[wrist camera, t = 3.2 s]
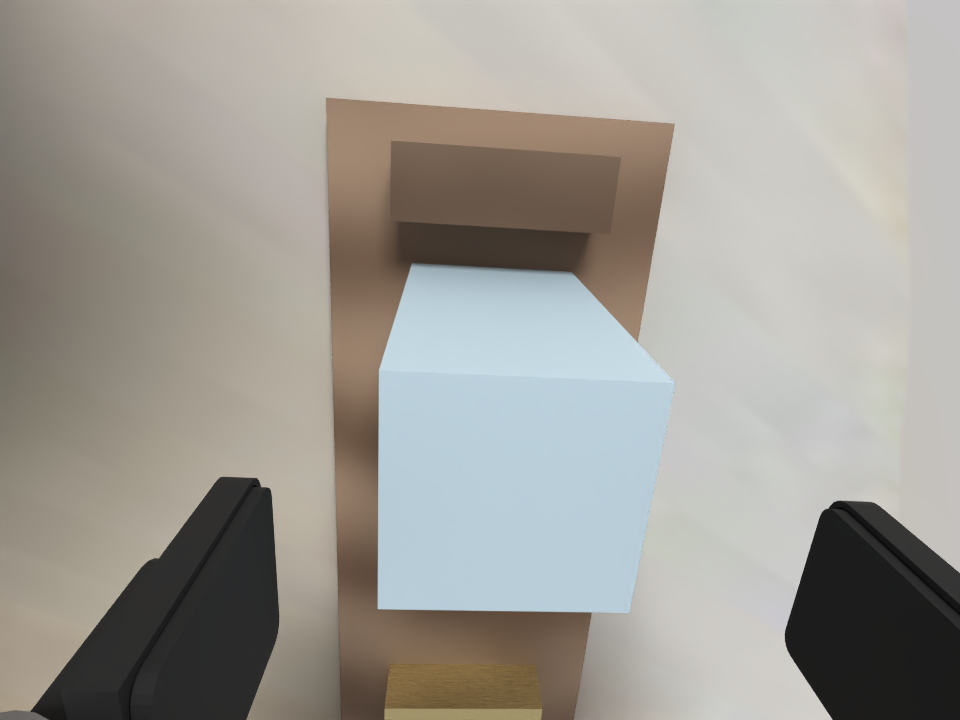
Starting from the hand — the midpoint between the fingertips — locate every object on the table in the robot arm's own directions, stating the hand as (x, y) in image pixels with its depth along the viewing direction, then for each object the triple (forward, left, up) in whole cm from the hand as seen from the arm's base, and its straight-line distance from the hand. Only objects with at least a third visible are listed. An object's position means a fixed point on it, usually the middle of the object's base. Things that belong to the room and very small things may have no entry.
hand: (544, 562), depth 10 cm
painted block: (0, 0, -10) cm, 10 cm away
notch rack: (+10, 0, -11) cm, 15 cm away
